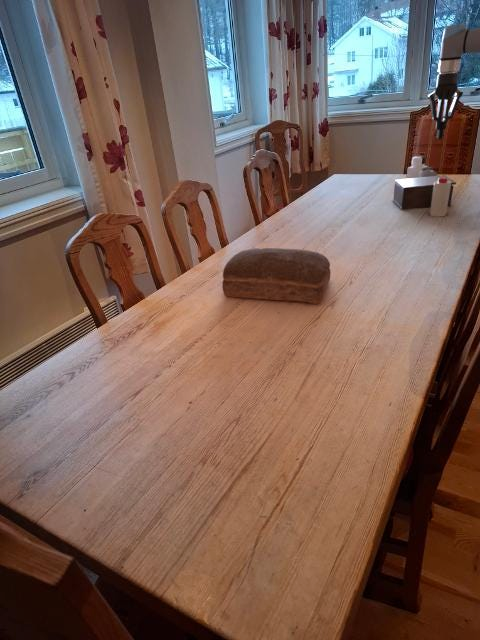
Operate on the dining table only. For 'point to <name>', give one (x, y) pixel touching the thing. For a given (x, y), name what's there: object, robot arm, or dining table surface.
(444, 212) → the bottle
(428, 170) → the food container
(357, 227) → the dining table surface
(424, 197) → the open box
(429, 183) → the lid
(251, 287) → the bread
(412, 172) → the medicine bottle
